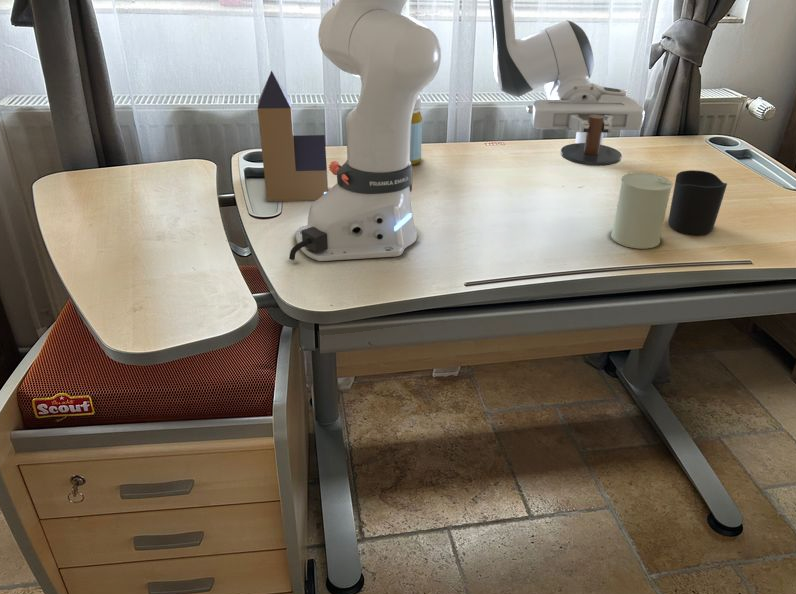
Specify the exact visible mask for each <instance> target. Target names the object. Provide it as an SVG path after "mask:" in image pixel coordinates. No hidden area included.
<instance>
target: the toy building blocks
mask: <svg viewBox="0 0 796 594" xmlns="http://www.w3.org/2000/svg"><path fill="white" fill-rule="evenodd" d="M257 115H258V125H259V126H258V127H259V136H260V137H259V138H260V146H261V155H262V165H263V175H264V184H265V185H264V186H265V194H266V202H267V203H268V202H294V201H295V202H296V201H297V202H299V201H316V200H318V199H319V198H320V197H321V196H323V195H324V192H327V191H329V184H328V183H329V182H328V166H327V153H326V152H327V150H326V135H325V134H316V135H315V134H307V135H305V134H304V135H301V134H300V135H294V124H293V111H292V99H291V98H290V96H289V94H288V93H287V92H286V90H285V89H284V87H283V85H282V84H281V83H280V81H279V79H278V78H277V77H276V75H275V73H274V72H273V70H270V72H269V75H268V78H267V80H266V82H265V84H264V87H263V89H262V92H261V94H260V96H259V98H258V103H257Z"/></svg>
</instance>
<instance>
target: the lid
mask: <svg viewBox="0 0 796 594" xmlns="http://www.w3.org/2000/svg"><path fill="white" fill-rule="evenodd" d="M588 122H590V127H589V132H587V134H586V141H585V143H575V142H574V143H570V144H567V145H564V146H563V147H561V149H560V156H561V157H562V158H563V159H564V160H566V161H569V162H570V163H575V164H577V165H582V166H589V167H590V166H591V167H607V166H613V165H616V164H618V163H620V162H621V161H622V158H623V154H622V152H620V151H619V150H618V149H616V148H614V147H611V146H608V145H604V144H602V145H600V141H601V135H602V128H603V122H604V116H602V115H597V114H593V115H589V120H588Z"/></svg>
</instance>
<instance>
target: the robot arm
mask: <svg viewBox="0 0 796 594" xmlns="http://www.w3.org/2000/svg"><path fill="white" fill-rule="evenodd" d="M408 2H409V0H338V1H337V3H335V4H334V6H332V7H331V8H330V9H329V10H328V11H326V13H325V14H324V16H323V17H322V19H321V20H320V23H319V27H318V35H317V36H318V37H317V38H318V44H319V47H320V50H321V52H322V53H323V55H324V57H326V58H327V60H329V61H330V62H331V63H332V64H333V65H334V66H336V67H337V68H338V69H339V70H340V71H342V72H345V73H347V74H351V75H352V76H355V77H358V78H359V79H360V81H361V82H360V83H361V88H360V93H359V98H358V101H357V104H356V107H354V108H353V109H352V110H351V111H350V112H349V113H348V114H347V117H346V119H345V120H346V121H345V127H346V128H345V129H346V130H345V131H346V160H345V162H343V164H342V165H341V164H340V163H339V162H338V161H336V160H333V161H331V162H330V164H328V170H329V172H330V173H332V175H334V176H336V184H334V185H333V186H332V187H331V188H329V189H328V191H327V192H324V195H323V196H321V197H320V198H319V199H318V200H314V202H313V203H311V205H310V207H309V210H308V216H307V224H305V225H302V226H299V227H298V229H297V231H296V233H295V241H296V244H294V245H293V247H292V248H291V249H290V252H289V256H288V259H289V260H290V261H295V260H296V254H297V253H298V251H299V250H300V251H301V252H302V253H303V254H305V256H307V257H309V258H310V259H312V260H315V261H317V262H328V261H343V260H344V261H345V260H347V261H348V260H361V259H375V258H377V259H378V258H392V257H393V258H394V257H400V256H401V255H403V253H404V251H405V249H407V248H408V247H410V246H411V245H412V244H414V243H415V242H416V240H417V239H418V236H419V235H418V231H417V229H416V224H415V221H414V220H415V219H414V215H413V208H412V207H413V206H412V197H411V192H412V191H413V179H414V176H413V175H414V174H413V165H412V163H411V161H410V131H411V120H412V114H413V110H414V107H415V104H416V101H417V99H418V96H420V94H421V93H422V91H423V90H424V89H425V88H426V87H427V86H428V85H430V84H431V83H432V81H433V80H434V79H435V77H436V76H437V73H438V72H439V69H440V65H441V60H442V50H441V49H442V47H441V44H440V41H439V38H438V37H437V35H436V33H435V32H434V31H433V30H432V29H430V28H429V27H427V26H426V25H425V24H424V23H422V22H421V21H419V20H417V19H416V18H414V17H412V16H409V15H405V14H402V12H403V10H404V8H405V6H406V5H407V3H408ZM489 10H490V22H491V33H492V42H493V43H492V44H493V74H494V78H495V81H496V83H497V85H498V87H499V89H500V91H501V92H503V93H505V94H507V95H510V96H513V97H516V98H520V97H522V96H524V95H526V94H528V93H530V92H532V91H534V90H535V89H538V88H539V87H540V88H541V87H542V86H543V87H544V89H543V91H544V96H545V99H536V100H534V101H533V103H532V105H527V106H526V108H525V109H526V112H527V113H528V114H530V115H531V125H532V126H533V128H534V129H537V130H568V131H570V132H573V133H577V132H589V127H590V122H588V120H589V115H593V114H597V115H602V116H604V122H603V128H602V133H604V134H606V133H607V134H609V133H612V131H639V130H640V129H642V127H643V124H644V119H645V109H644V107H643V106H642V104H640V103H639V102H637V101H636V100H635V99H634V98H632V97H629V96H628V92H627V91H626V90H624V89H619V88H613V87H607V86H602V85H600V84H599V85H598V84H596V83H593V82H590V81H589V79H590V78H591V77H592V75H593V71H594V67H595V60H594V59H595V57H594V53H593V49H592V45H591V42H590V40H589V37H588V36H587V34H586V32H585V31H584V29H583V28H582V27H581V26H579V25H578V24H576V23H575V22H574V21H571V20H569V19H566V20H564V21H562V22H558V23H555V24H553V25H551V26H548V27H546V28H544V29H541V30H539V31H537V32H533V33H531V34H529V35H526V36H524V37H521V38H516V28H515V27H516V26H515V13H514V0H489Z"/></svg>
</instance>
